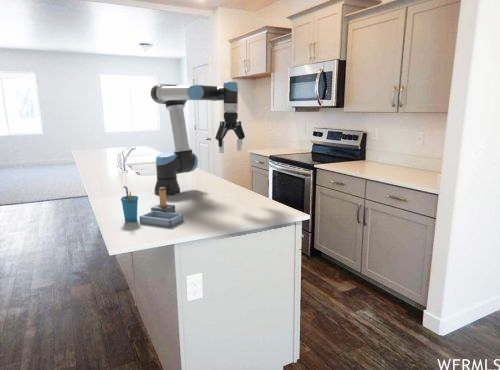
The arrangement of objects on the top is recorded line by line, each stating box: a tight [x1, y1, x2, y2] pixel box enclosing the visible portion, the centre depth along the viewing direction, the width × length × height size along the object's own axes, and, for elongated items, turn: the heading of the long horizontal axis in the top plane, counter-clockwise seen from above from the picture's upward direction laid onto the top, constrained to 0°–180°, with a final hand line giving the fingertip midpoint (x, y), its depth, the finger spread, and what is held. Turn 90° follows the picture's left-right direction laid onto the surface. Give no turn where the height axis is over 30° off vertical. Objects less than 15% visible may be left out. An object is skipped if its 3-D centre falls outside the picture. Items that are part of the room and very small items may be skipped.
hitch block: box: [150, 203, 176, 213], centre depth 172 cm, size 8×8×4 cm
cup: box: [120, 185, 139, 223], centre depth 162 cm, size 14×8×15 cm, turn 34°
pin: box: [159, 187, 167, 208], centre depth 171 cm, size 3×3×13 cm
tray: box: [138, 210, 184, 228], centre depth 160 cm, size 16×10×3 cm, turn 68°
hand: (230, 151), depth 196 cm, fingers open, 13 cm apart
